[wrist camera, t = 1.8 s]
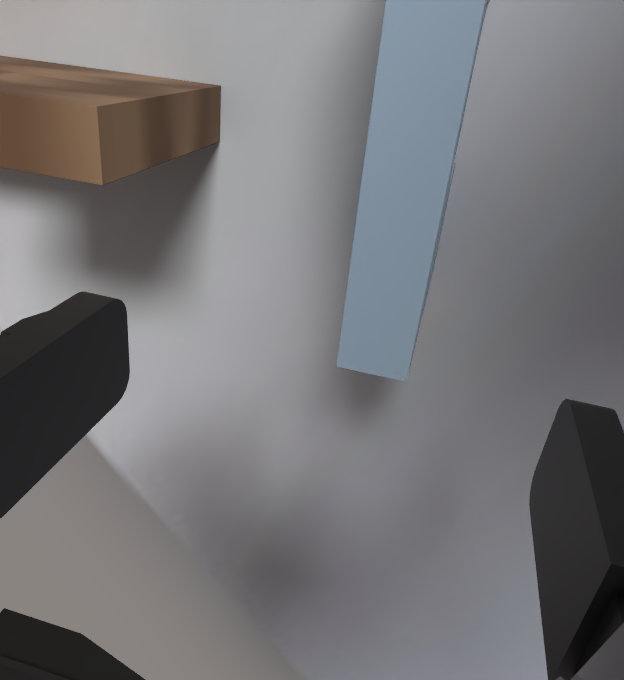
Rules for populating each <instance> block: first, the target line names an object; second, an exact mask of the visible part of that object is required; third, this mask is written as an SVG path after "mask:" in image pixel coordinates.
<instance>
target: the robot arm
mask: <svg viewBox="0 0 624 680" xmlns="http://www.w3.org/2000/svg"><path fill="white" fill-rule="evenodd" d="M129 373H130V369H129V347H128V326H127V311H126V307H125V304H124V303H123V302H122V301H121V300H119V299H115V298H111V297H106V296H102V295H97V294H93V293H88V292H79V293H77V294H75V295H74V296H72V297H70V298H69V299H67V300H66V301H64V302H62V303H61V304H59V305H58V306H56V307H54V308H53V309H51V310H49V311H47V312H43V313H40V314H37V315H34V316H31V317H28V318H24V319H22V320H20V321H19V322H17V323H15V324H14V325H12V326H10V327H9V328H7V329H5V330H4V331H2V332H1V335H0V518H2V517H3V516H4V515H5V514H6V513H7V512H8V511H9V510H10V509H11V508H12V507H13V506H14V505H15V504H16V503H17V502H18V501H19V500H20V499H21V498H22V497H23V496H24V495H25V494H26V493H27V492H28V491H29V490H30V489H31V488H32V487H33V486H34V485H35V484H36V483H37V482H38V481H39V480H40V479H41V478H42V477H43V476H44V475H45V474H46V473H47V472H48V471H49V470H50V469H51V468H52V467H53V466H54V465H55V464H56V463H57V462H58V461H59V460H60V459H61V458H62V457H63V456H64V455H65V454H66V453H67V452H68V451H69V450H71V448H73V447H74V445H76V444H77V443H78V442H79V441H80V440H81V439H82V437H84V436H85V435H86V434H87V433H88V432H89V431H90V430H91V429H92V428H93V427H94V426H95V425H96V424H97V423H98V422H99V421H100V420H101V419H102V418H103V417H104V416H105V415H106V414H107V413H108V412H109V411H110V410H111V409H112V408H113V407H114V406H115V405H116V404H117V403H118V402H119V401H120V399H121V398H122V396H123V394H124V392H125V390H126V387H127V384H128V380H129ZM530 516H531V525H532V534H533V543H534V553H535V562H536V571H537V580H538V590H539V599H540V608H541V617H542V627H543V636H544V645H545V654H546V664H547V673H548V680H624V432H623V429H622V426H621V424H620V421H619V418H618V416H617V413H616V411H615V410H613V409H610V408H606V407H601V406H597V405H592V404H588V403H583V402H578V401H574V400H569V399H565V400H564V401H563V402H562V403H561V405H560V407H559V409H558V411H557V414H556V416H555V419H554V422H553V424H552V427H551V430H550V432H549V435H548V437H547V440H546V443H545V445H544V448H543V451H542V453H541V456H540V459H539V461H538V464H537V467H536V469H535V472H534V476H533V480H532V484H531V491H530ZM0 680H145V679H143V678H142V677H141V676H140V675H138V674H137V673H135V672H134V671H132V670H131V669H130V668H128V667H127V666H125V665H124V664H123V663H121V662H120V661H118V660H117V659H116V658H114V657H113V656H112V655H110V654H109V653H107V652H106V651H105V650H103V649H102V648H101V647H99V646H98V645H96V644H95V643H94V642H92V641H91V640H89V639H88V638H86V637H85V636H84V635H82V634H80V633H77V632H74V631H71V630H68V629H65V628H62V627H59V626H56V625H53V624H50V623H47V622H44V621H41V620H38V619H35V618H32V617H29V616H26V615H23V614H20V613H17V612H14V611H11V610H8V609H5V608H4V609H3V610H2V611H1V613H0Z"/></svg>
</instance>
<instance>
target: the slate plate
mask: <svg viewBox="0 0 624 680" xmlns="http://www.w3.org/2000/svg"><path fill="white" fill-rule="evenodd" d="M487 2H489V0H386V4H385V12H384V19H383V26H382V34H381V41H380V48H379V56H378V63H377V70H376V77H375V85H374V92H373V99H372V107H371V114H370V121H369V129H368V136H367V143H366V151H365V158H364V165H363V173H362V180H361V187H360V195H359V202H358V209H357V217H356V224H355V231H354V239H353V246H352V253H351V260H350V268H349V275H348V282H347V290H346V297H345V304H344V312H343V319H342V326H341V334H340V341H339V348H338V356H337V363H336V367H341V368H345V369H350V370H354V371H359V372H363V373H368V374H372V375H377V376H381V377H386V378H390V379H395V380H399V381H404V382H407V377H408V373H409V369H410V365H411V361H412V356H413V352H414V348H415V344H416V340H417V335H418V331H419V327H420V323H421V319H422V315H423V310H424V306H425V302H426V298H427V294H428V289H429V285H430V281H431V276H432V272H433V267H434V262H435V257H436V253H437V248H438V243H439V238H440V234H441V229H442V224H443V219H444V214H445V210H446V205H447V200H448V195H449V191H450V186H451V181H452V176H453V172H454V167H455V163H454V159H455V155H456V150H457V145H458V140H459V135H460V131H461V126H462V121H463V116H464V111H465V107H466V102H467V97H468V92H469V87H470V83H471V78H472V73H473V68H474V64H475V59H476V54H477V49H478V44H479V40H480V35H481V30H482V25H483V20H484V16H485V11H486V6H487Z"/></svg>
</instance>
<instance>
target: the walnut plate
mask: <svg viewBox="0 0 624 680" xmlns="http://www.w3.org/2000/svg"><path fill="white" fill-rule="evenodd" d="M220 91H221V86H218V85H211V84H204V83H196V82H189V81H182V80H174V79H167V78H160V77H152V76H145V75H137V74H130V73H123V72H115V71H108V70H101V69H93V68H86V67H79V66H71V65H64V64H56V63H49V62H42V61H34V60H27V59H20V58H12V57H5V56H0V167H2V168H8V169H14V170H19V171H25V172H31V173H36V174H42V175H48V176H53V177H59V178H65V179H70V180H76V181H82V182H87V183H93V184H99V185H105V184H107V183H110V182H113V181H115V180H118V179H121V178H123V177H126V176H129V175H131V174H134V173H137V172H139V171H142V170H145V169H147V168H150V167H153V166H155V165H158V164H161V163H163V162H166V161H169V160H171V159H174V158H177V157H179V156H182V155H185V154H187V153H190V152H193V151H195V150H198V149H201V148H203V147H206V146H209V145H211V144H214V143H217V142H219V141H220Z"/></svg>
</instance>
